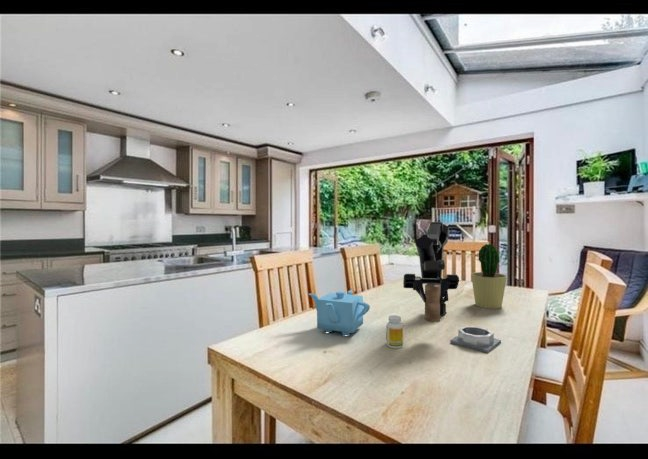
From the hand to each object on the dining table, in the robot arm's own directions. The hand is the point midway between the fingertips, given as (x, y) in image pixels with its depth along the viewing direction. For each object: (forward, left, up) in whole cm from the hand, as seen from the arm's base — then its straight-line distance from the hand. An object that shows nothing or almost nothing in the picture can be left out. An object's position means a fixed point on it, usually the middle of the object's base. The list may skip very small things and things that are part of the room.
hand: (433, 302), depth 115 cm
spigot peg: (-1, +1, -7) cm, 7 cm away
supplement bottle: (-7, -13, -14) cm, 20 cm away
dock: (+11, +8, -13) cm, 19 cm away
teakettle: (-31, -15, -14) cm, 37 cm away
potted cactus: (-4, +61, -14) cm, 63 cm away
